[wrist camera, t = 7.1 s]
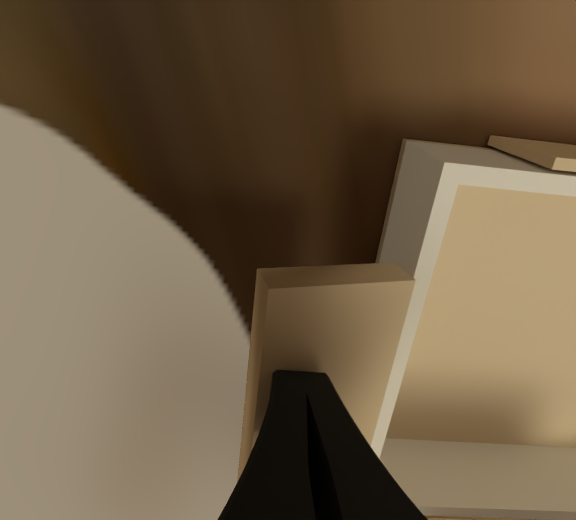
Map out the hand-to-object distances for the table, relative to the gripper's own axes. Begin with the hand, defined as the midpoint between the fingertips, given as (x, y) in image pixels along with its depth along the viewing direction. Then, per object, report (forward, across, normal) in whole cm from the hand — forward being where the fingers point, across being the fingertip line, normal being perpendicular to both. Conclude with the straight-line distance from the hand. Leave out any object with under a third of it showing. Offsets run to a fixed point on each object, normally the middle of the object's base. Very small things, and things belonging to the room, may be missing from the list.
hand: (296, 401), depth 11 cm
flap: (0, -1, 0) cm, 1 cm away
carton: (+5, -10, 0) cm, 11 cm away
